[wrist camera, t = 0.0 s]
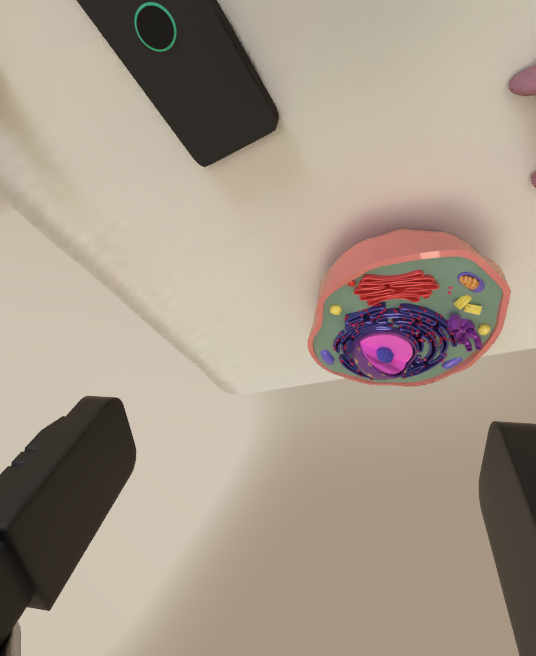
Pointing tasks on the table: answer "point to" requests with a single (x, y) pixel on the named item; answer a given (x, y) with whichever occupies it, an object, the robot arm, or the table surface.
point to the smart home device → (189, 71)
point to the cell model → (407, 309)
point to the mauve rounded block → (525, 89)
